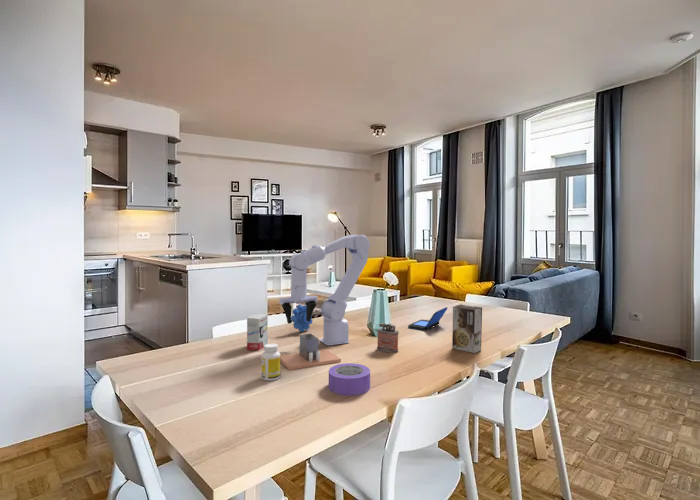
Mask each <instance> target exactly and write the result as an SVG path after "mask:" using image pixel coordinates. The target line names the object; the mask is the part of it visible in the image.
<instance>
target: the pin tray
mask: <svg viewBox="0 0 700 500" xmlns="http://www.w3.org/2000/svg"><path fill="white" fill-rule="evenodd" d="M341 361H342V359H341V358H340V357H339V356H338V355H336V354H334V353H333V352H331V351H330V350H329V349H327V348H324V349H319V351H317V352H316V360H313V353H312V352H310V353H309V361H306V360H305V359H304V358H303V357H302V356H300V344H299V345H298V352H296V353H287V354H280V363H281V364H283V366H285V367H286V368H287V369H288V371H291V370H296V369H304V368H309V367H317V366H321V365H322V366H323V365H328V364H335V363H336V364H337V363H341Z"/></svg>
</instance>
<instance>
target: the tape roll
mask: <svg viewBox="0 0 700 500" xmlns="http://www.w3.org/2000/svg"><path fill="white" fill-rule="evenodd" d="M328 390H329V391H331V393H333V394H336V395H339V396H349V397H350V396H351V397H352V396H360V395H363V394H366V393H368V392H369V391H370V390H371V369H370V368H369V367H368V366H366V365H364V364H360V363H354V362H351V363H350V362H346V363H339V364H336V365H333V366H331V367H330V368H329V369H328Z"/></svg>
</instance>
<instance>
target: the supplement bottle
mask: <svg viewBox="0 0 700 500" xmlns="http://www.w3.org/2000/svg"><path fill="white" fill-rule="evenodd" d="M278 349H279V345H278V344H277V343H268V344H266V345H264V347H263V351H264V352H263V353H261V379H262V380H263V381H268V382H269V381H270V382H271V381H272V382H273V381H276V380H279V379H280V378H281V361H280V355H281V353H280V352H279V351H278Z"/></svg>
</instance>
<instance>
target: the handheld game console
mask: <svg viewBox="0 0 700 500" xmlns="http://www.w3.org/2000/svg"><path fill="white" fill-rule="evenodd" d="M447 310H448V307H447V306H446V307H443V308H441V309H439V310H437V311H435V312H434V313H433V314H432V315H431V317H430V319H419V320H417V321H415V322H412V323H411V324H408V326H407V327H408V328H409V329H412V330H418V331H423V330H425V331H424V332H428V331H429V330H430V328H431V327H432V328H434V327H433V326H435V327H437V326H439V325H440V321H441V319H442V317H443V316H444V315H445V313H446V311H447ZM438 324H439V325H438ZM436 325H437V326H436ZM432 328H431V329H432ZM428 329H429V330H428Z"/></svg>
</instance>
